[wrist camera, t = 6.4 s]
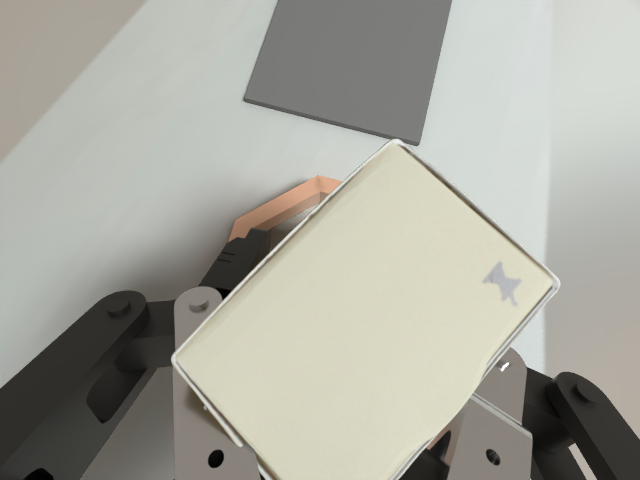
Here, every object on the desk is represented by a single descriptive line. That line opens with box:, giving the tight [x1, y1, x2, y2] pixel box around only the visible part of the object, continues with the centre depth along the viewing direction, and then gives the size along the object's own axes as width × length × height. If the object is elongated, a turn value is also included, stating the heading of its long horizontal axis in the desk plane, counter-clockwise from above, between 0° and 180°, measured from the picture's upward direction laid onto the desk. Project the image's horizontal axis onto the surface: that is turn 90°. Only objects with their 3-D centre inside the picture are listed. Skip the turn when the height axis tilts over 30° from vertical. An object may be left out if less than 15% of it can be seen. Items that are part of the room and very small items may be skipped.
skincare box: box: [171, 139, 560, 480], centre depth 11 cm, size 6×4×12 cm
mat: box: [244, 0, 452, 146], centre depth 20 cm, size 12×14×1 cm
